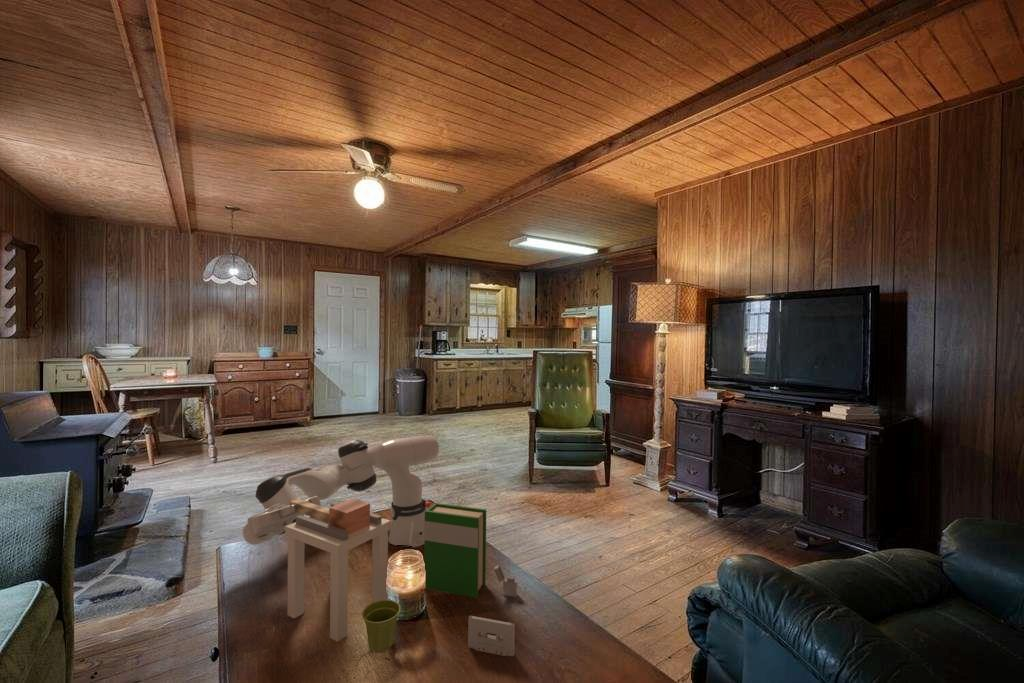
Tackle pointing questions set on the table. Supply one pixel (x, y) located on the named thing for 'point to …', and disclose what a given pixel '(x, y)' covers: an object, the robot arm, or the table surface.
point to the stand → (335, 563)
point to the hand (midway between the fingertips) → (301, 505)
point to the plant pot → (381, 624)
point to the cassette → (491, 636)
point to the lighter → (507, 583)
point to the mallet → (338, 513)
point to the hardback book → (455, 549)
